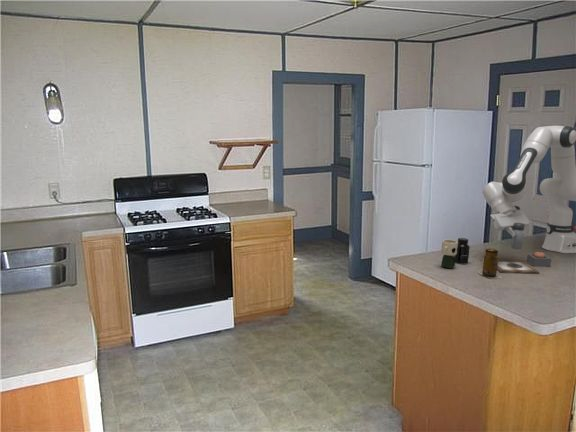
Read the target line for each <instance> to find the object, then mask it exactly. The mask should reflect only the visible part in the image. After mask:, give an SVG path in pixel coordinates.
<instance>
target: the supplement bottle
mask: <svg viewBox="0 0 576 432" xmlns="http://www.w3.org/2000/svg"><path fill="white" fill-rule="evenodd" d="M457 242H458V247H457V254H456V255H454V259H455V264H460V265H467V264H468V263H469V258H470V257H469V256H470V248H471V247H470V245H469V239H468V238H464V237H459V238H457Z"/></svg>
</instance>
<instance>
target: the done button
mask: <svg viewBox="0 0 576 432" xmlns="http://www.w3.org/2000/svg"><path fill="white" fill-rule="evenodd" d="M533 254H534V257H536V258H544V255H545V253H544V252H542V251H541V252H540V251H534V253H533Z"/></svg>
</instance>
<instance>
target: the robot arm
mask: <svg viewBox="0 0 576 432" xmlns="http://www.w3.org/2000/svg"><path fill="white" fill-rule="evenodd" d="M575 144H576V128H575V127H573V126H569V125H565V126H563V125H546V126H543V125H541V126H540V125H539V126H537V127H534V128H533V129H532V130H531V132H530V134H529V135H528V137H527V139H526V141H525V142H524V144H523V146H522V147H521V148H522V149H521V151H520V155H519V156H520V157H519V158H518V160H517V161H516V163H515V165H514V167H513V168H512V169H511V170H510V171H509V172H508V173H506V174H505V175H504V176H503V177H502V181H501V182H498V181H490V182H488V183H487V184H485V186H484V187H482V195H483V197H484V199H485V201H486V203H487V204H488V205H489V207H490V208H491V211H492V212H491V213H490V218H491V223H492V224H493V226H494V229H495V230H497V231H506V232H507V234H508V233H509V235H511V237H512V238H513V237H515V236H517V234H516V232H514V231H513V230H514V229H513V228H514V223H523V224H525V226H524V229H525V228H527V227H528V226H529V225H530V220H529V219H528V216H527V215H526V214H525V212H523V211H522V207H521V206H520V205H515V204H513V203H515V202H517V201H518V202H519V200H521V198H522V197H523V195H524V193H525V192H524V191H525V185H526V181H527V176H526V175H527V173H528V172H529V170H530V168H531V167H532V165H533V164H538V163H540V162H541V161H542V160H543V158H544V157H545V156H546V155H547V152H548V150H549V148H550V161H551V163H550V164H551V170H552V172H553V174H556V175H557V176H558V177H559V178H558V177H549V178H544V179H543V180H542V181H541V182H540V185H539V191H540V193H541V195H542V196H543V197H544V198H545V200H546V202H547V205H548V208H549V209H548V213H549V214H548V222H547V224H546V233H545V238H544V242H543V244H542V245H541V248H542V249H544V250H547V251H551V252H558V253H560V254H561V253H562V254H576V232H575V231H576V225H575V226H574V225H573V224H572V222H573V215H574V212H573V210H572V208H570V206H568V204H567V203H566V201H572V202H576V151H575ZM525 235H526V232H525V231H524V233H523V236H525Z"/></svg>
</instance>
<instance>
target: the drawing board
mask: <svg viewBox="0 0 576 432" xmlns="http://www.w3.org/2000/svg"><path fill="white" fill-rule="evenodd" d="M497 272H498V273H500V274H528V275H529V274H531V275H532V274H533V275H534V274H535V275H540V270H538V269H536V268H535V267H534V266H532V265H531V264H529V263H528V262H526V261H505V260H498V265H497Z"/></svg>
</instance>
